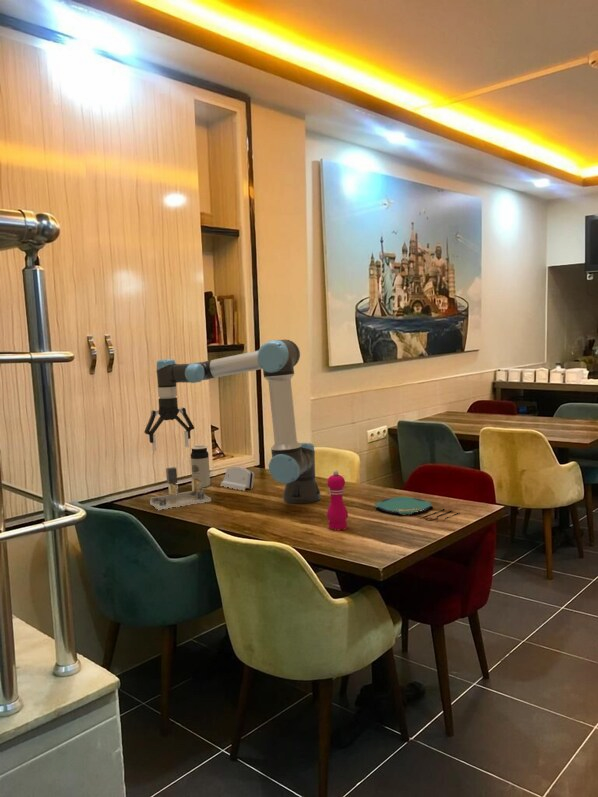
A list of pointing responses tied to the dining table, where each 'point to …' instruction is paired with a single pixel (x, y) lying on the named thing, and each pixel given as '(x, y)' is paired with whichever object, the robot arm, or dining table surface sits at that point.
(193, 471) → the travel mug
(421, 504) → the teal flat plaque
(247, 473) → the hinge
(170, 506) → the bolt plate
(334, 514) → the pepper mill
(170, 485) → the sliding leg
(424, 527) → the dining table surface
